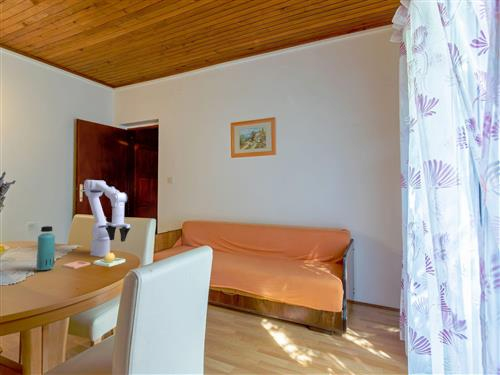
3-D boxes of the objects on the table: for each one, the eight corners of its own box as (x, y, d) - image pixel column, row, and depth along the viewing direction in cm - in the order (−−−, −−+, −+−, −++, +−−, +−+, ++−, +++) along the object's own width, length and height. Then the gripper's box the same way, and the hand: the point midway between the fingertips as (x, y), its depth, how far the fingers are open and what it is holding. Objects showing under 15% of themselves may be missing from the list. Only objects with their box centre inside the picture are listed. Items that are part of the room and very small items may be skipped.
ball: (101, 263, 134) (101, 253, 134) (110, 261, 139) (110, 251, 139) (108, 265, 132) (108, 254, 132) (117, 262, 137) (117, 252, 137)
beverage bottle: (44, 274, 117) (46, 227, 117) (31, 272, 119) (33, 226, 119) (57, 269, 124) (59, 225, 124) (45, 268, 125) (47, 225, 125)
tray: (93, 265, 133) (93, 261, 133) (110, 260, 142) (110, 256, 142) (109, 267, 129) (109, 264, 129) (125, 262, 139) (125, 259, 139)
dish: (62, 267, 127) (62, 264, 127) (78, 263, 135) (78, 260, 135) (74, 269, 125) (74, 267, 125) (90, 265, 132) (90, 262, 132)
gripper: (101, 215, 143) (100, 240, 143) (123, 216, 139) (122, 243, 138) (112, 214, 150) (111, 238, 150) (133, 215, 145) (132, 240, 145)
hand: (117, 240), depth 145 cm, fingers open, 7 cm apart
